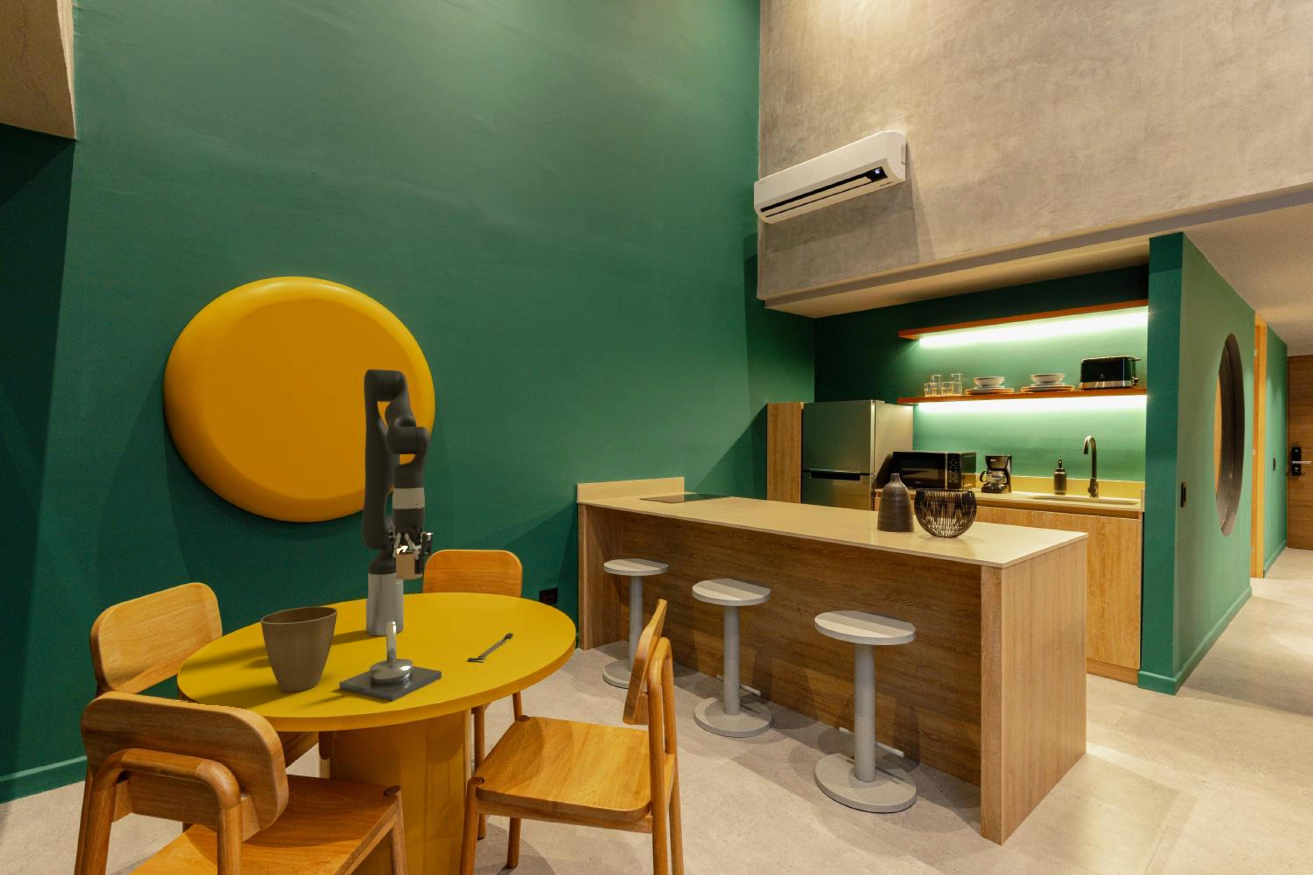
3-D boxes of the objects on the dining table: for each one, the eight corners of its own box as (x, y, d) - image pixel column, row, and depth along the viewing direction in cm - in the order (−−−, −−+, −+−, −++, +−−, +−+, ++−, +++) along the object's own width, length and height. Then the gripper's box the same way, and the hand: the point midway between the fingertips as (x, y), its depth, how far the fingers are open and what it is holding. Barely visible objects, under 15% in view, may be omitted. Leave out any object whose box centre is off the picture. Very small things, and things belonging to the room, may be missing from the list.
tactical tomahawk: (490, 668, 152) (491, 663, 152) (466, 663, 153) (466, 659, 153) (528, 639, 172) (529, 635, 172) (507, 636, 174) (507, 632, 174)
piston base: (339, 689, 137) (339, 625, 137) (390, 667, 149) (390, 609, 149) (392, 701, 130) (392, 634, 130) (441, 677, 143) (441, 616, 143)
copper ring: (391, 578, 154) (390, 554, 154) (409, 573, 160) (409, 550, 160) (409, 580, 152) (408, 555, 152) (427, 575, 157) (427, 551, 157)
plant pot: (341, 688, 137) (341, 616, 137) (261, 705, 129) (261, 627, 129) (334, 668, 149) (333, 602, 149) (260, 682, 141) (260, 611, 141)
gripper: (375, 506, 155) (376, 573, 155) (418, 508, 150) (419, 578, 149) (399, 503, 162) (400, 567, 162) (441, 505, 156) (442, 572, 156)
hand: (409, 572), depth 156 cm, fingers closed on copper ring, 6 cm apart
